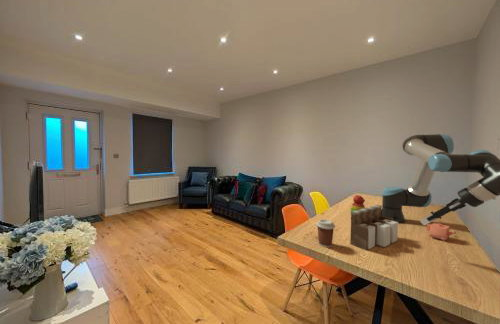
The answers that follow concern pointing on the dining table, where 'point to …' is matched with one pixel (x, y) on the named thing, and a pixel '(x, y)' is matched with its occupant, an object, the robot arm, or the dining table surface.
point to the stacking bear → (357, 203)
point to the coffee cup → (325, 232)
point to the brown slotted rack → (367, 217)
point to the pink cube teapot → (439, 231)
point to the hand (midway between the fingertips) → (422, 222)
